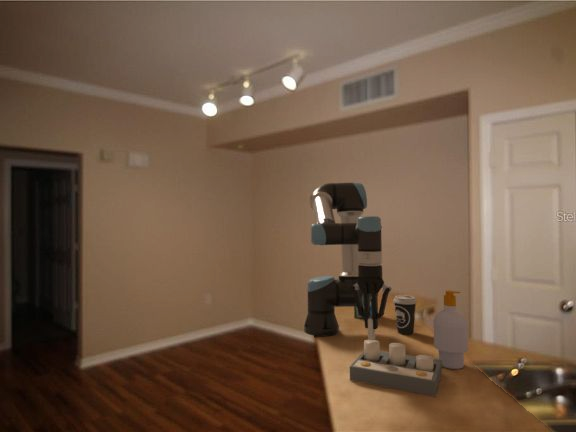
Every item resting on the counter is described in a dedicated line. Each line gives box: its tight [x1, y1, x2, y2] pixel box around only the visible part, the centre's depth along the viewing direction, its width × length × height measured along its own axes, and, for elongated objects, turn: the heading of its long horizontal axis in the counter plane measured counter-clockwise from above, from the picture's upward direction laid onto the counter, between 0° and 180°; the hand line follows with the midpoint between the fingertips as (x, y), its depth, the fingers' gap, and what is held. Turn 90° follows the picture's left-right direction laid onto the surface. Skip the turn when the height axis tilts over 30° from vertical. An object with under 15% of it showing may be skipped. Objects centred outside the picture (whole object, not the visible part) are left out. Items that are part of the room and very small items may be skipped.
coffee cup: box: [392, 294, 418, 336], centre depth 157 cm, size 10×10×15 cm
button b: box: [388, 342, 406, 367], centre depth 114 cm, size 5×5×6 cm
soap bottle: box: [433, 290, 469, 370], centre depth 121 cm, size 10×10×24 cm
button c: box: [416, 354, 434, 371], centre depth 111 cm, size 5×5×6 cm
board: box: [349, 350, 443, 397], centre depth 113 cm, size 24×17×4 cm
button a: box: [363, 339, 381, 362], centre depth 118 cm, size 5×5×6 cm
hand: (371, 338), depth 118 cm, fingers closed
